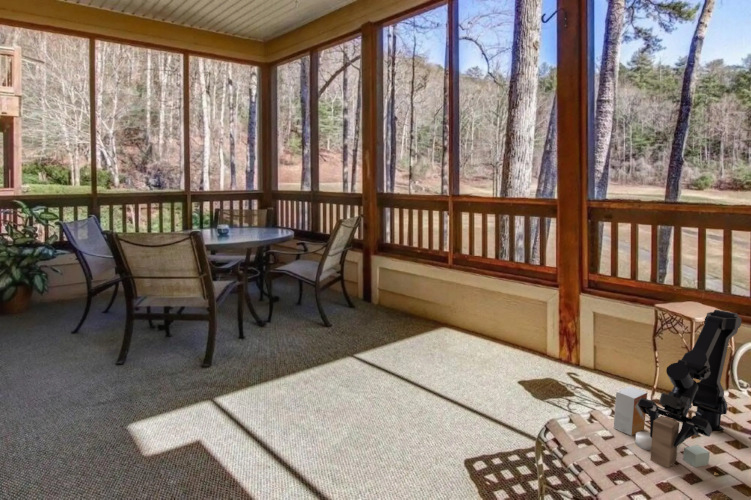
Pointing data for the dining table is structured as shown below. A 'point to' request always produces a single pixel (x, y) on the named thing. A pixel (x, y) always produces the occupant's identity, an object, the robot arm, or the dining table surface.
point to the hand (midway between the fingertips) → (662, 441)
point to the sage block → (696, 456)
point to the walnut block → (664, 441)
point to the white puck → (643, 440)
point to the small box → (629, 410)
